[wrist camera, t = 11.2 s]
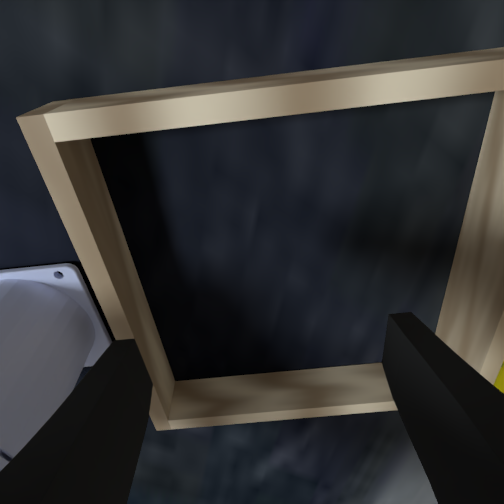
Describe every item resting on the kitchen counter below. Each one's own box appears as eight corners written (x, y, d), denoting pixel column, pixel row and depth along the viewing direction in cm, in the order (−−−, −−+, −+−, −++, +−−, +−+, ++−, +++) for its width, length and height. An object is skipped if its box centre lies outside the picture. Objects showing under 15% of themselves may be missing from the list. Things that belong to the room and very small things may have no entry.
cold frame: (164, 391, 26) (151, 453, 22) (53, 101, 15) (-9, 127, 11) (440, 366, 25) (475, 426, 22) (531, 43, 14) (633, 52, 11)
